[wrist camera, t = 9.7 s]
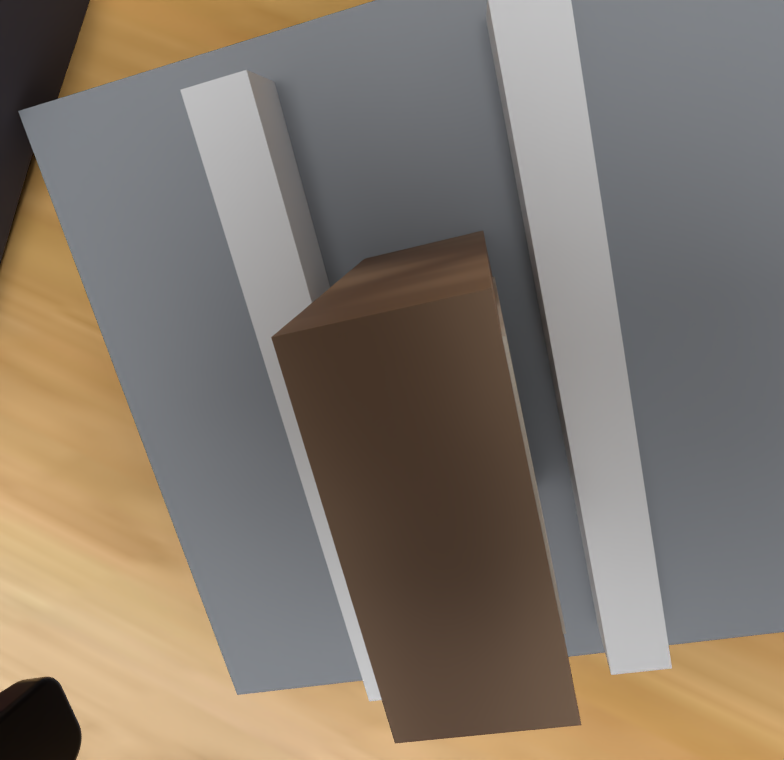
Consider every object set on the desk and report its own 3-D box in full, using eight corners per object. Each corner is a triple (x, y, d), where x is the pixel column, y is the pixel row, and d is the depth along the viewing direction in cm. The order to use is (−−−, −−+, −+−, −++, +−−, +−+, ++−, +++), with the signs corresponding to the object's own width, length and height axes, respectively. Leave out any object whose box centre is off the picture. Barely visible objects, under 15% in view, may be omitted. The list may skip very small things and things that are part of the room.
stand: (768, -103, 14) (855, -182, 11) (819, 591, 19) (891, 678, 16) (54, 115, 18) (-42, 103, 14) (252, 661, 23) (214, 746, 19)
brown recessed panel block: (485, 229, 16) (495, 287, 8) (537, 487, 18) (584, 724, 10) (362, 259, 16) (267, 337, 9) (425, 506, 18) (392, 743, 11)
